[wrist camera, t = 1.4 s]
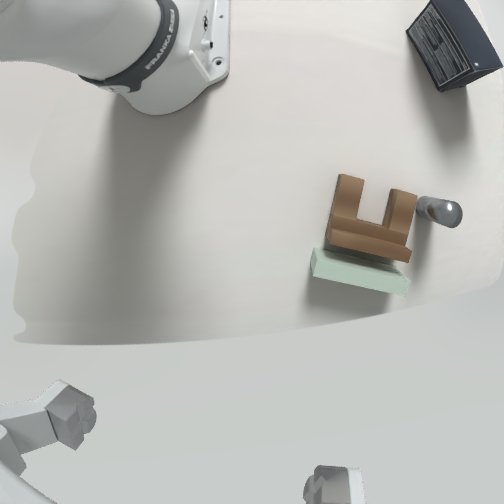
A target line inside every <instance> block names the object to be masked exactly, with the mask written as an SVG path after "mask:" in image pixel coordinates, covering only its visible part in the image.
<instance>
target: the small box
mask: <svg viewBox="0 0 504 504" xmlns="http://www.w3.org/2000/svg"><path fill="white" fill-rule="evenodd" d="M406 32H407V34H408V36H409V37H410V39H411V41H412V42H413V44H414V46H415V47H416V49H417V51H418V52H419V54H420V56H421V58H422V60H423V61H424V63H425V65H426V67H427V69H428V71H429V73H430V75H431V77H432V79H433V81H434V83H435V85H436V87H437V89H438V91H440V92H443V91H445V90H448V89H452V88H457V87H462V86H464V85H467V84H469V83H471V82H473V81H475V80H477V79H479V78H481V77H483V76H485V75H487V74H490V73H492V72H494V71H496V70H498V69H500V68H503V65H502V63H501V61H500V59H499V57H498V55H497V53H496V51H495V49H494V47H493V46H492V44H491V42H490V40H489V38H488V37H487V35H486V33H485V32H484V30H483V28H482V27H481V25H480V23H479V22H478V20H477V19H476V17H475V15H474V14H473V12H472V11H471V9H470V8H469V6H468V5H467V4H466V2H465V1H464V0H430V1H429V3H428V4H427V6H426V7H425V8H424V10H423V11H422V12H421V13H420V14H419V16H418V17H417V18H416V19H415V21H414V22H413V23H412V25H411V26H410V27H409V28H408V29H407V30H406Z"/></svg>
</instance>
